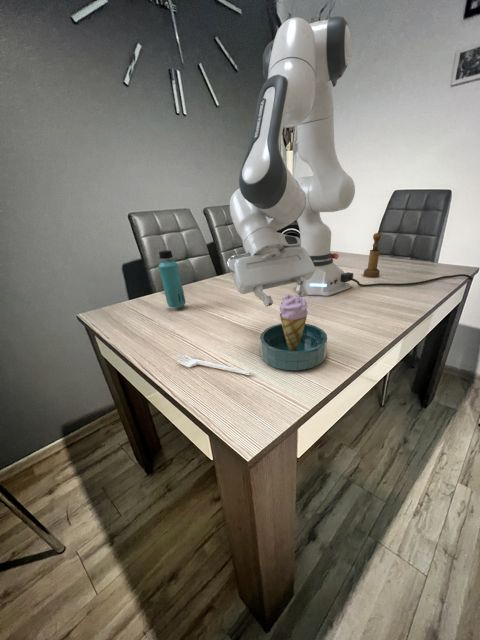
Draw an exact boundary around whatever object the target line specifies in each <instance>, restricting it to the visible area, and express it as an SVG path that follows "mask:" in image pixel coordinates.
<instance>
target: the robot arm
mask: <svg viewBox="0 0 480 640" xmlns="http://www.w3.org/2000/svg"><path fill="white" fill-rule="evenodd" d="M351 52H352V36H351V32H350V29H349V24H348V22H347V20H346V19H345V17H344V16H340V15H339V16H338V15H337V16H329V18H328V19H322V20H318V21H314V22H310V23H309V22H308V21H307V20H305V19H304V18H302V17H296V16H295V17H291V18H288V19H287V20H285V21H284V22H283V23H282V24H281V25H280V27H279V28H278V30H277V31H276V34H275V37H274V39H273V40H271V41H270V42H269V43H268V44H267V45H266V46H265V48H264V52H263V54H262V73H263V78H264V83H263V85H262V86H261V88H260V91H259V95H258V96H257V97H258V98H257V102H256V107H255V112H254V118H253V123H252V127H251V132H250V138H249V144H248V147H247V152H246V155H245V157H244V160H243V162H242V165H241V166H240V167H241V168H240V171H239V177H238V186H239V188H237V189H236V190H235V191H234V192H233V193H232V195H231V197H230V199H229V214H230V218H231V220H232V224H233V226H234V229H235V231H236V234H237V235H238V237H239V238H240V239H241V241H242V247H243V249H244V252H245V253H240V254H233V255H231V256H230V257H229V258H228V259H227V261H226V264H227V267H228V270H229V272H231V273H232V278H233V282H234V286H235V288H236V289H235V290H236V291H237V292H238V293H239V294H241V295H245V294H250V293H253V294H254V296H255V297H256V298H258V299H259V300H260V301H262V303H263V305H264V307H265V308H266V307H267V308H268V307H271V306H272V305H273V304H274V301H273V299H272V296H271V295H267V294H266V293H265V292H264V290H268V289H273V288H276V287H277V288H278V287H282V286H287V285H291V284H295V283H296V287H295V292H296V294H297V295H298V298H299V297H302V298H303V299H304V298H306V297H307V296H324V297H325V296H326V297H329V296H332V295H334V294H337V293H340V292H343V291H346V290H348V289H351V288H352V285H351V284H350V283H349V282H351V281H352V282H355V283H356V284H357V286H359V287H362V288H363V287H365V288H366V287H378V286H380V287H381V286H382V287H383V286H386V287H387V286H391V287H398V286H399V287H400V286H401V287H403V286H415V285H421V284H426V283H430V282H434V281H439V280H442V279H450V278H458V277H465V278H468V279H469V280H473V277H472V276H471V275H469V274H466V273H458V274H453V275H443V276H439V277H434V278H430V279H426V280H421V281H415V282H404V283H392V282H391V283H390V282H387V283H385V282H381V283H380V282H379V283H378V282H377V283H368V284H367V283H366V284H363V283H360V281H359V280H358V279H356V278H354V272H348V271H347V272H345V271H344V270H343V269H342V268H340V266H338V265H337V264H336V263H335V262H334V260H338V259H339V258H340V257H339V253H336V252H333V253H332V252H331V246H332V245H331V244H332V230H331V228H330V227H329V226H328V225H327V224H325V223H324V222H323V220H322V218H321V217H322V216H321V213H335V212H339V211H343V210H346V209H348V208H349V207H350V205H351V204H352V203H353V201H354V198H355V195H356V185H355V181H354V179H353V178H352V176H350V175H349V174H348V173H347V172H346V171H345V170H344V168H343V167H342V165H341V164H340V161H339V159H338V155H337V152H336V144H335V122H334V121H335V119H334V117H335V115H334V113H335V112H334V98H333V90H332V88H335V87H336V86H337V83H338V80H340V79H341V78H342V77H343V75H344V73H345V72H346V70H347V68H348V64H349V61H350V57H351ZM293 127H296V138H297V140H296V141H297V153H298V155H299V158H300V159H301V161H303V162H304V163H306V164H307V165H308V166H309V168H310V170H311V172H312V175H311V176H310V175H309V176H301V177H298V178H295V177H294V175H293V174H292V173H291V171H290V170H289V168H288V166H287V164H286V162H285V160H284V158H283V155H282V152H281V142H282V138H283V130H284V128H285V129H287V128H293ZM295 222H297V226H298V228H299V237H298V236H294V235H288V234H285V233H281V232H279V231H281V230H283V229H285V228H287V227H288V226H290V225H291V224H293V223H295Z"/></svg>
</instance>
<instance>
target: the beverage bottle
mask: <svg viewBox="0 0 480 640" xmlns="http://www.w3.org/2000/svg"><path fill="white" fill-rule="evenodd" d="M158 255H159V259H161V260H163V261H161V262H160V263H159V264H158V269H159V274H160V277H161V283H162V286H163V287H162V288H163V291H164V297H165V299H166V300H165V301H166V304H167V306H168V307H169V308H180V307H183V306H185V305H186V298H185V292H184V288H183V284H182V278H181V273H180V270H179V264H178V262H176V261H175V260H172V258H173V257H174V256H173V252H172V250H170V249H169V250H167V249H166V250H160V251H159V252H158ZM165 259H171V260H165Z"/></svg>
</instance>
